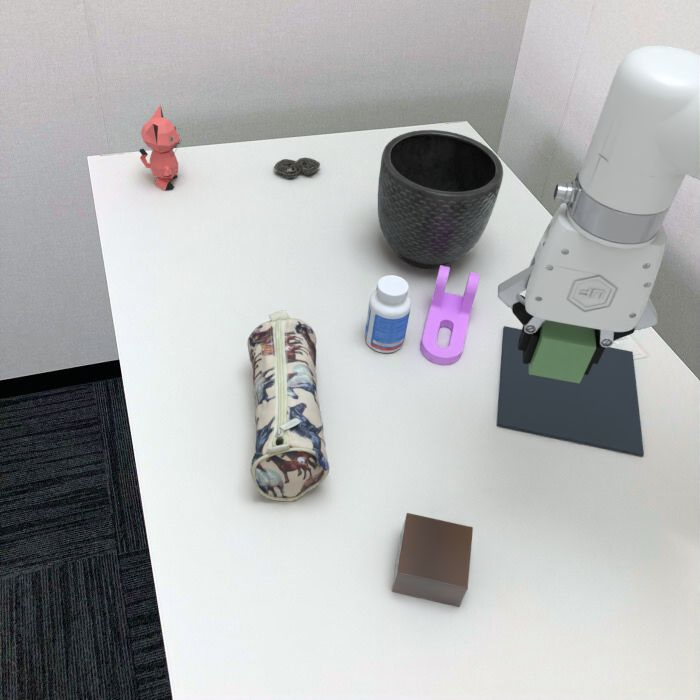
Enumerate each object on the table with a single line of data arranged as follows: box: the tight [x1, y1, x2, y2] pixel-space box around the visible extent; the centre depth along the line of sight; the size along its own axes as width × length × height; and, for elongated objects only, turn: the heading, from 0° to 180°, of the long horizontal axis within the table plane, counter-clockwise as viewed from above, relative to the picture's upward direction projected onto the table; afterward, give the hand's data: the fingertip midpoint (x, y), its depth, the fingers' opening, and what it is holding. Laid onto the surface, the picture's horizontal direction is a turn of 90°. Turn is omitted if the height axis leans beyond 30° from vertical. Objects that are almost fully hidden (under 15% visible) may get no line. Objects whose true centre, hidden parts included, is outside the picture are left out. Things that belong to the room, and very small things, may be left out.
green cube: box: [529, 320, 596, 383], centre depth 72 cm, size 5×5×5 cm
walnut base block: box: [391, 512, 474, 608], centre depth 76 cm, size 7×7×4 cm
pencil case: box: [246, 309, 330, 502], centre depth 85 cm, size 22×8×10 cm, turn 6°
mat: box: [496, 325, 645, 458], centre depth 97 cm, size 18×18×1 cm
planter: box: [377, 129, 504, 270], centre depth 108 cm, size 17×17×16 cm
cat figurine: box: [138, 103, 183, 191], centre depth 116 cm, size 7×7×12 cm
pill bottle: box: [364, 274, 412, 354], centre depth 96 cm, size 6×5×10 cm
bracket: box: [420, 265, 481, 366], centre depth 100 cm, size 13×6×7 cm, turn 166°
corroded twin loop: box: [273, 157, 321, 179], centre depth 126 cm, size 5×8×1 cm, turn 108°
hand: (554, 357), depth 73 cm, fingers closed on green cube, 5 cm apart
